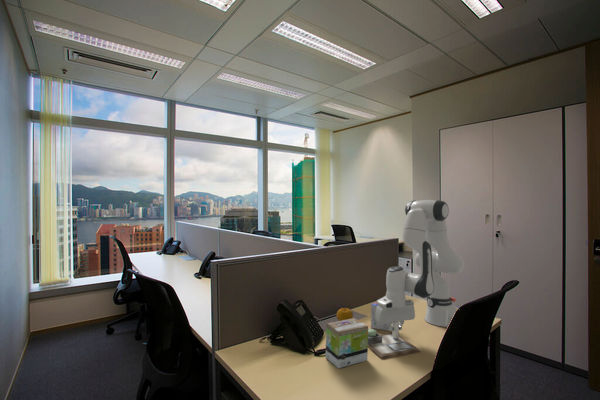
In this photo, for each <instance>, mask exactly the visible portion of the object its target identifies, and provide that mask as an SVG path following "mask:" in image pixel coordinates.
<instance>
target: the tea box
mask: <svg viewBox="0 0 600 400" xmlns="http://www.w3.org/2000/svg"><path fill="white" fill-rule="evenodd" d="M368 329H369V325H367V324H365V323H364V322H362V321H360V320H358V319H357V318H355V317H353V318H352V319H347V320H342V321H338V320H337V321H332V322H327V323H326V330H325V331H326V332H325V358H326V359H327V360H328V361H329V362H330V363H331V364H332V365H334V366H335V367H336V368H337V369H341V368H344V367H349V366H353V365H355V364H358V363H362V362H367V361H368V354H369V353H368V352H369V351H368V350H369V348H368Z"/></svg>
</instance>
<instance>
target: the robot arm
mask: <svg viewBox="0 0 600 400" xmlns="http://www.w3.org/2000/svg"><path fill="white" fill-rule="evenodd" d="M404 211H405V215H406V216H405V220H404V224H403V229H402V240H403V242H404V244H406V246H407V247H409V248H411V249H412V250H414V252H416V254H415V257H414V261H415V264H416V266H417V267H418V268H419V270H420V271H419V272H420V273H419V274H418V273H413V272H410V271H407V270H405V268H404V267H402V266H398V265H395V266H390V267H389V268H388V269H387V270H386V271H387V272H386V275H385V276H386V277H385V278H386V279H385V280H386V281H385V285H386V292H385V295H384V296H383V297H381V298H378V299H379V300H378V299H377V300H376V303H377V304H378V306H377V307H376V315H375V318H376V321H377V322H379V323H380V324H383V323H387V324H388V325H389V330H390V331H389V332H392V331H394V327H393V326H392V322H398V321H399V331H402V330H403V328H402V327H403V325H404V323H405V322H406V321H410V320H412V321H413V320H414V319H415V318H416V313H415V311H416V310H415V302H414V301H413V300H412V299H406V293H408V294H412V295H415V296H417V297H420V298H422V299H426V302H427V304H426V311H425V317H424V321H425V322H427V323H428V324H430V325H432V326H433V325H434V326H436V327H437V326H438V327H444V328H448V325H449V323H450V321H451V319H452V317H453V315H454V313H455V312H456V310H457V309H459V308H458V307H457V306H456V305H454V304H453V303H455V302H456V301H457V299H456V298H455V297H451V296H450V284H449V282H448V281H447V279H445V278H444V277H442V276H441V274H440V273H444V274H449V275H450V274H454V275H455V274H460V273H461V272H463V270H464V269H465V262H464V261H465V260H464V259H463V258H462V256H461V255H459V254H458V253H456V252H455V251H454V249H453V248H452V246H451V245H450V242H449V238H448V229H447V222H446V219H447V218H448V216H449V213H450V209H449V206H448V204H447V202H445V201H444V200H440V199H438V200H433V199H423V200H422V199H419V200H415V199H414V200H410V201H408V202H407V203H406V205H405V208H404ZM432 248H433V249H434V250H435V251H433V250H432Z"/></svg>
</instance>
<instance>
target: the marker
mask: <svg viewBox="0 0 600 400" xmlns="http://www.w3.org/2000/svg"><path fill="white" fill-rule="evenodd" d="M391 325H392V326H393V327H394V331H391V333H392V337H393V339H395V340H398V338H399V336H400V330H399V321H398V322H392V324H391Z"/></svg>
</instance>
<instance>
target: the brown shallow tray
mask: <svg viewBox="0 0 600 400" xmlns="http://www.w3.org/2000/svg"><path fill="white" fill-rule="evenodd" d="M368 350H370V351H371V352H373V353H374V354H375V355H376V356H377V357H378V358H379V359H380V360H382V359H388V358H394V357H399V356H404V355H411V354H416V353H420V351H421V349H420V348H418V347H417V346H415V345H414V344H412V343H411V342H410V341H408V340H406V339H405V338H403V337H402V336H401V335H399V338H398V340H395V339H393V337H392V332H391V333H390V332H389V333H383V334H381V333H379V332H378V331H376V336H374V337H369V336H368Z"/></svg>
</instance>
